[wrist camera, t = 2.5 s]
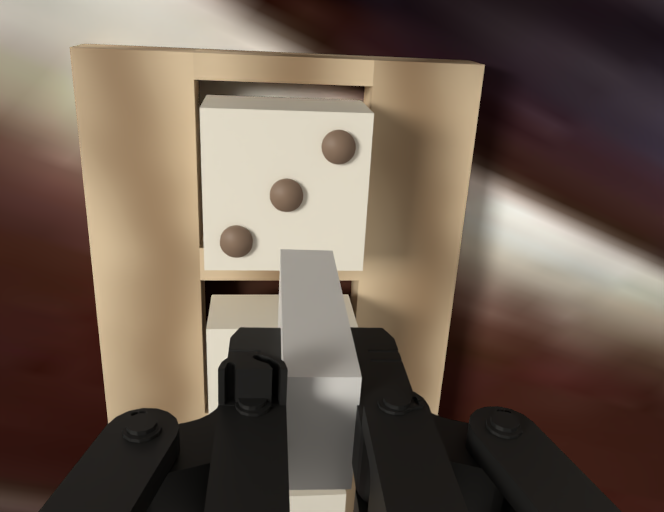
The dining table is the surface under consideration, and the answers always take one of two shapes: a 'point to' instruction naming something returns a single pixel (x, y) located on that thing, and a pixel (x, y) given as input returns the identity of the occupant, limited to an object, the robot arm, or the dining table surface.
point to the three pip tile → (283, 179)
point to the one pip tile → (317, 500)
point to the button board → (187, 212)
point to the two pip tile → (232, 315)
